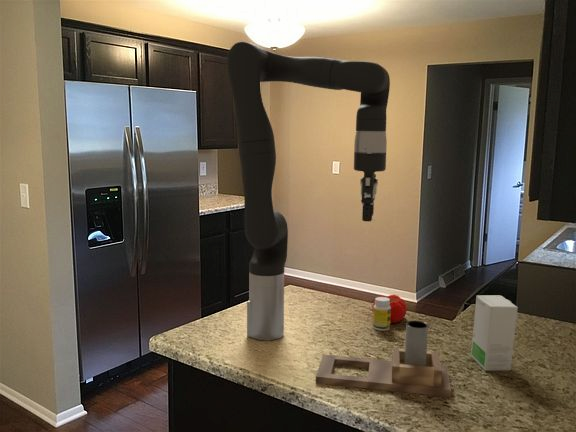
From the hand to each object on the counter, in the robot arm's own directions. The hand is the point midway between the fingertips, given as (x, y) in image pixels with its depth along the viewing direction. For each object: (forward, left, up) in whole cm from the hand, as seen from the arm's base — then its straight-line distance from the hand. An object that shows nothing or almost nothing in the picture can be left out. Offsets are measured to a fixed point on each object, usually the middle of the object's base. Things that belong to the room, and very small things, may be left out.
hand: (367, 218), depth 127 cm
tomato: (+6, +24, -33) cm, 42 cm away
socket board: (+5, -15, -33) cm, 37 cm away
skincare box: (+30, -2, -33) cm, 45 cm away
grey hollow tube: (+12, -15, -31) cm, 36 cm away
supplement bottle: (+4, +16, -33) cm, 37 cm away
